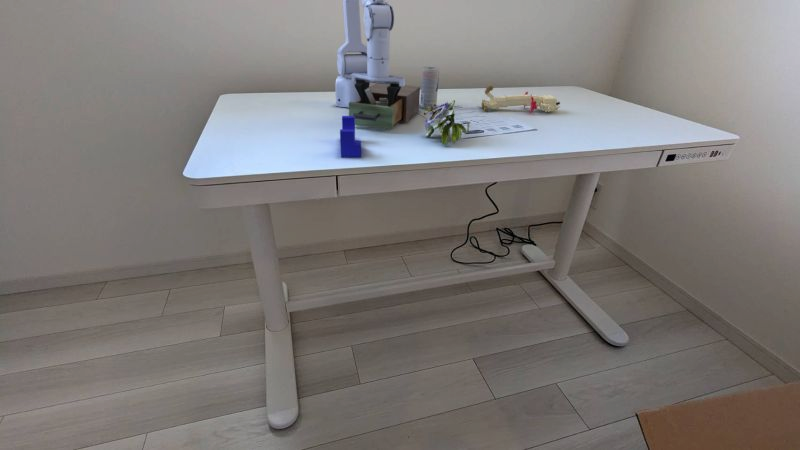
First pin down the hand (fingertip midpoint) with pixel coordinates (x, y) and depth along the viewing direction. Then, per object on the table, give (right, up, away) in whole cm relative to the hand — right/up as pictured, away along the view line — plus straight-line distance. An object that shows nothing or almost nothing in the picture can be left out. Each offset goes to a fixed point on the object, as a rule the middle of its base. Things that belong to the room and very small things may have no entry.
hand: (377, 110), depth 108 cm
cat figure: (+46, +6, +21) cm, 50 cm away
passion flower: (+18, -9, -6) cm, 21 cm away
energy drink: (+15, +7, +21) cm, 27 cm away
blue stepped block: (-5, -13, -14) cm, 20 cm away
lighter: (0, -2, +1) cm, 2 cm away
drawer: (-1, -3, 0) cm, 3 cm away
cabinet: (+3, +2, +11) cm, 12 cm away
